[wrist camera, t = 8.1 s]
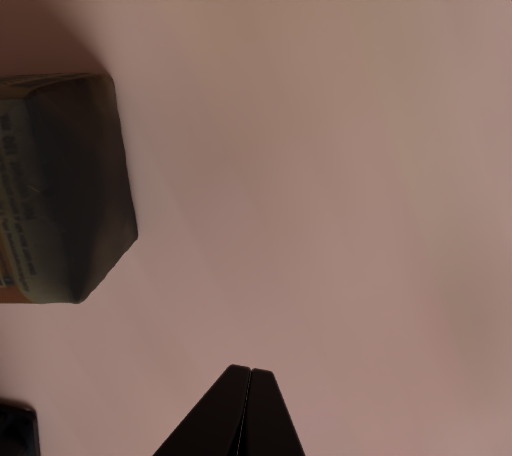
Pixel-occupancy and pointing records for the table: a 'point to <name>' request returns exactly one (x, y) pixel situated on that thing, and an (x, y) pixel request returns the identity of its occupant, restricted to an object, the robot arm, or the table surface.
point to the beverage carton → (61, 187)
